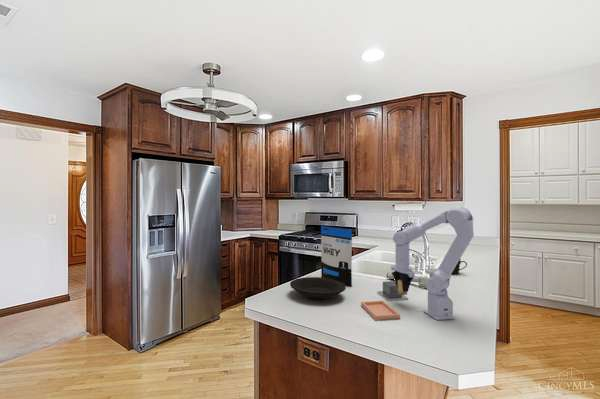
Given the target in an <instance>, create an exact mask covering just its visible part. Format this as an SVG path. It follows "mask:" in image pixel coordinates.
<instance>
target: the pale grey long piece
mask: <svg viewBox="0 0 600 399" xmlns="http://www.w3.org/2000/svg"><path fill="white" fill-rule="evenodd" d="M387 278H390V279H394V277H393V275H392V272H387V273H386V279H387ZM427 279H429V277H428V276H427V275H426V276H425V275H422V276H421V275H420V276H418V275H415V277H414V278H413V279H412V281H411V283H417V285H418V286H419V288H422V289H423V290H425V289H427V288H426V286H425V283H426V280H427Z"/></svg>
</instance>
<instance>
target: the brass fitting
mask: <svg viewBox="0 0 600 399" xmlns="http://www.w3.org/2000/svg"><path fill="white" fill-rule="evenodd" d="M398 294H400V295H404V296H406V295H408V292H403V289H402V281H401V278H400V279H398Z"/></svg>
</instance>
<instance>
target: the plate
mask: <svg viewBox="0 0 600 399" xmlns="http://www.w3.org/2000/svg"><path fill="white" fill-rule="evenodd" d="M289 286H290V288H291V289H293V290H295V292H297V293H299V294H301V295H302V296H305V297H306V298H308V299H310V300H317V301H321V300H326V299H328V298H332V297H335V296H337V295H339V294H341V293H342V292H344V291H345V290H346V286H345V285H344V284H343V283H341V282H339V281H336V280H333V279H327V278H322V277H314V276H313V277H312V276H310V277H299V278H296V279H293V280H291V281H290V282H289Z"/></svg>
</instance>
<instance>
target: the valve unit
mask: <svg viewBox="0 0 600 399" xmlns="http://www.w3.org/2000/svg"><path fill="white" fill-rule="evenodd" d="M376 293H377V294H378V295H379V296H380V297H382V299H384V300H386V301H387V302H397V301H398V302H399V301H408V300H409V297H407V296H406V295H400V294H398V289H397V286H396V282H395V280H394V281H393V280H389V281H382V290H379V291H378V290H377V291H376Z"/></svg>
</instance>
